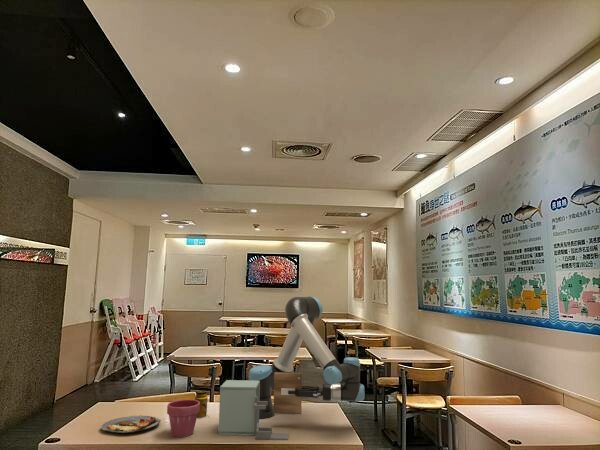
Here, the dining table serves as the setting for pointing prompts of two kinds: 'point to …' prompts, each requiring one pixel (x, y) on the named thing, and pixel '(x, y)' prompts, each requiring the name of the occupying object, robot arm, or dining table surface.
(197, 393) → the condiment
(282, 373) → the door
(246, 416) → the cabinet
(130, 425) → the food plate
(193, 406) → the plant pot
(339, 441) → the dining table surface
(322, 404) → the dining table surface
